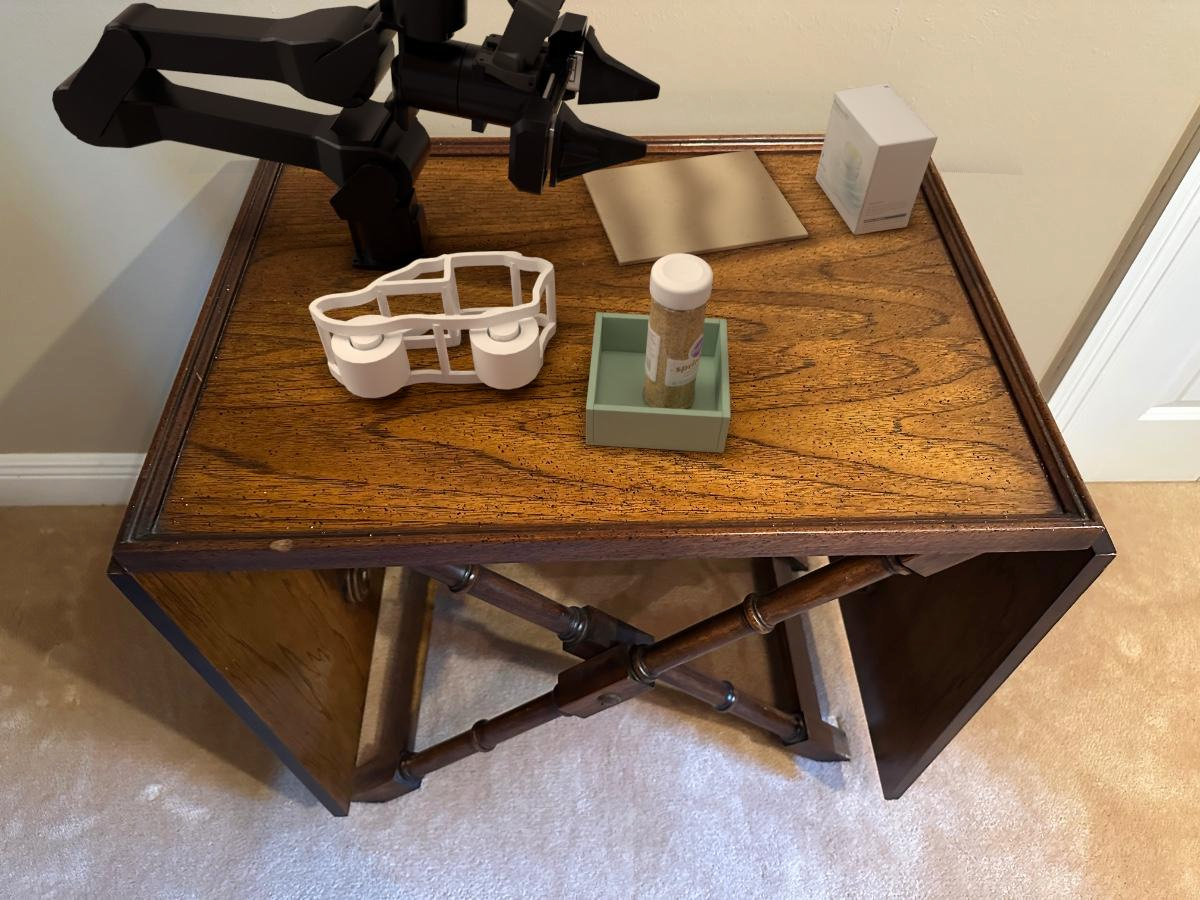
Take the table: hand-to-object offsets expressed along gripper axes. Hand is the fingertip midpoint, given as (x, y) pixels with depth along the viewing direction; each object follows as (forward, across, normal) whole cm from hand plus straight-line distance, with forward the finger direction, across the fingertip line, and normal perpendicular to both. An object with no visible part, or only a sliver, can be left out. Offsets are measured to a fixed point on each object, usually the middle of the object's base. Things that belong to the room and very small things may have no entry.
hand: (653, 120), depth 68 cm
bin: (+5, -16, +16) cm, 23 cm away
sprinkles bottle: (+6, -16, +16) cm, 23 cm away
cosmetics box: (+23, +16, +14) cm, 32 cm away
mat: (+6, +13, +16) cm, 21 cm away
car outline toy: (-14, -14, +18) cm, 27 cm away
